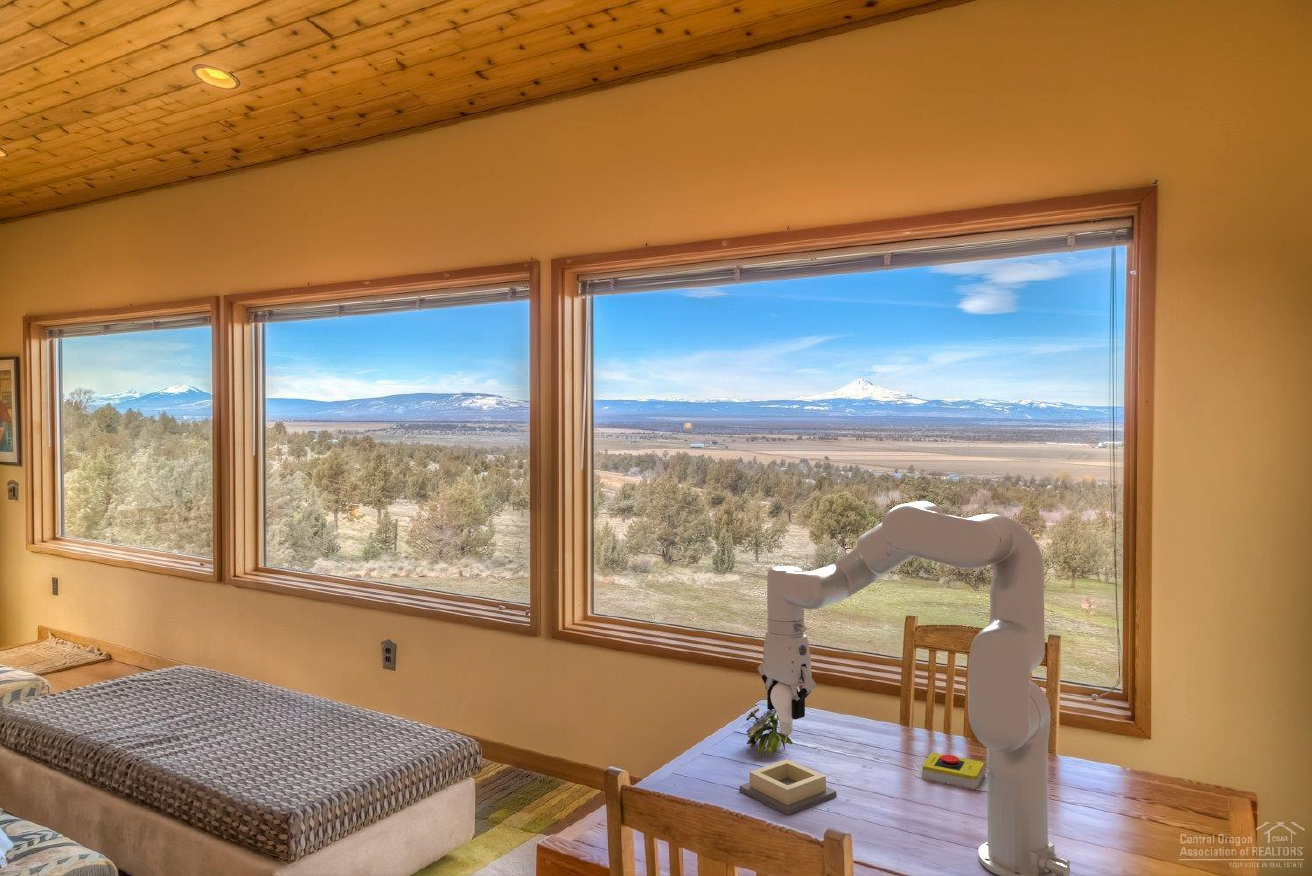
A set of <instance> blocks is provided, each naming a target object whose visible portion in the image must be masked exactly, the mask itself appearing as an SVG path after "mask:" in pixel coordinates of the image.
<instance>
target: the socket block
mask: <svg viewBox="0 0 1312 876" xmlns="http://www.w3.org/2000/svg"><path fill="white" fill-rule="evenodd" d="M739 791H740V792H742V793H743V794H746V795H747V796H749V797H751V798H754V799H755V800H757V801H759V802H762V803H763V804H764V805H766V806H767V805H768V806H769V807H771V808H773V809H775V810H777V811H778V812H780V813H783V814H785V815H787V816H788V815H791V814H794V813H796V812H800V811H802V810H804V809H807V808H809V807H812V806H815V805H817V804H819V803H822V802H825V801H827V800H830V799H833V798H834V797H837V790H836V789H833V788H830V787H829V786H827V776H826V775H824V774H822V773H820V772H817V771H815V770H814V769H812V768H811V769H810V768H808V767H805V766H804V765H801V764H799V763H797V762H794V761H792V760H789V759H788V758H786V759H785V760H781V761H778V762H775V763H773V764H769V765H767V766H766V765H765V766H763V767H760V768H757V769H755V770H751V771H749V782H746V783H744V784H741V785H739Z"/></svg>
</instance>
